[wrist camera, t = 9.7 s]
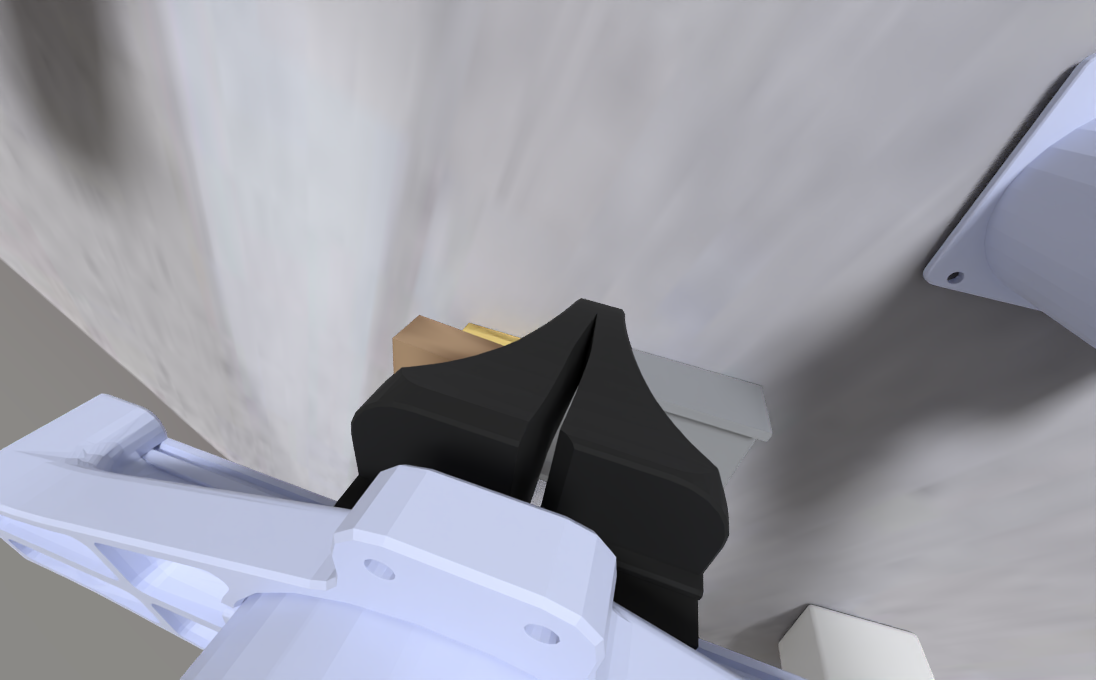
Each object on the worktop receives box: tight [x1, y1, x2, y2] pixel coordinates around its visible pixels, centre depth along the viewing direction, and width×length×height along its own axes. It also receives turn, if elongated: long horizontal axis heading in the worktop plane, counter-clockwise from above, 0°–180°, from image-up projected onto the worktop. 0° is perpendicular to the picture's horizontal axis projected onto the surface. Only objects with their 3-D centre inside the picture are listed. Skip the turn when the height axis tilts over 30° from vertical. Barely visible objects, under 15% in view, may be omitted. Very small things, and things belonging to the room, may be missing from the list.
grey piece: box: [539, 349, 773, 488], centre depth 24 cm, size 10×9×4 cm
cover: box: [393, 315, 503, 374], centre depth 24 cm, size 9×7×2 cm
